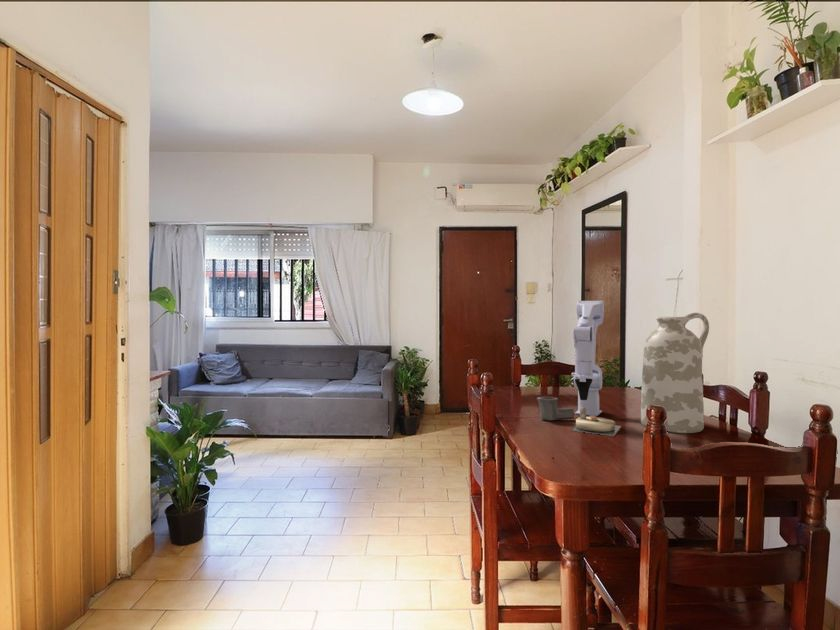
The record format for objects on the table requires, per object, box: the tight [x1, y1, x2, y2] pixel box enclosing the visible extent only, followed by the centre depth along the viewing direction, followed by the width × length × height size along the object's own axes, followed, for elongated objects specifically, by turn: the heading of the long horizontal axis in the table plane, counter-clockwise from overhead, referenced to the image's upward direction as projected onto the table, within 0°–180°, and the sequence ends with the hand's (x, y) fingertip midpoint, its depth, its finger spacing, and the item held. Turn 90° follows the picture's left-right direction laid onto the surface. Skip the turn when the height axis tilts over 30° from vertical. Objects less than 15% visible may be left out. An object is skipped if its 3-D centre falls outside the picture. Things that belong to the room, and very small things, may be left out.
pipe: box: [536, 396, 575, 422], centre depth 167 cm, size 6×13×8 cm, turn 88°
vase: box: [640, 312, 710, 434], centre depth 156 cm, size 20×19×38 cm
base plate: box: [570, 424, 622, 437], centre depth 154 cm, size 14×13×1 cm
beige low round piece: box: [575, 407, 616, 432], centre depth 154 cm, size 12×12×6 cm
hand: (583, 399), depth 163 cm, fingers closed
